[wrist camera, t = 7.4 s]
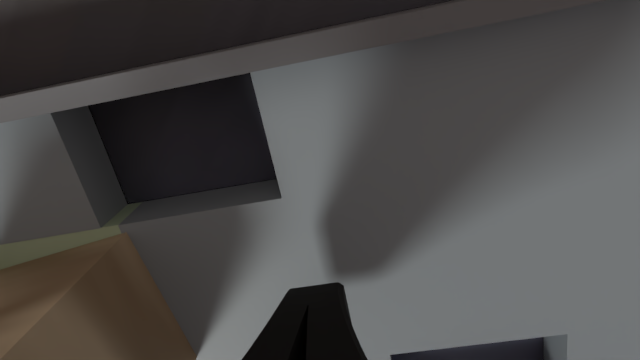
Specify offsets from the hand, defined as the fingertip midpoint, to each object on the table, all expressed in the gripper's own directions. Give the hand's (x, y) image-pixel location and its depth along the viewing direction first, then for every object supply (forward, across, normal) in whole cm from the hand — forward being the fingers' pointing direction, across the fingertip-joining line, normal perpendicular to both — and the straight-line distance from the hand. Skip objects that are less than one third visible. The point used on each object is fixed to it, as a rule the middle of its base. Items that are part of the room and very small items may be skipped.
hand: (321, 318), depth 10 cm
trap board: (+3, 0, 0) cm, 3 cm away
